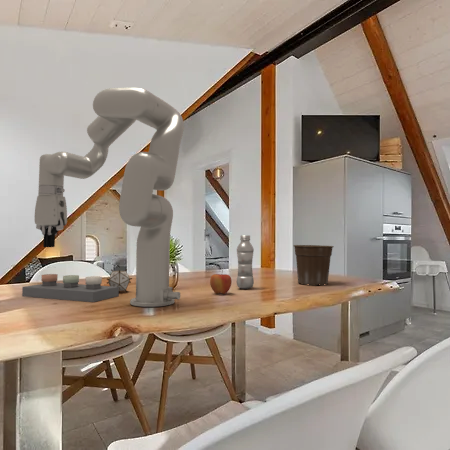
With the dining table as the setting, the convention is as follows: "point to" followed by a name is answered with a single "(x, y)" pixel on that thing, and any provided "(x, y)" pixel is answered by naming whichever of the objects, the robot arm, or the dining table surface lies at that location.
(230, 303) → the dining table surface
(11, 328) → the dining table surface
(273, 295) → the dining table surface
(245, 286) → the plastic bottle
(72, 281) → the sage button
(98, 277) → the cream button
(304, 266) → the plant pot
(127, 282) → the game die
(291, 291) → the dining table surface
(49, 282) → the terracotta button
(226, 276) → the apple
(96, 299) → the board
